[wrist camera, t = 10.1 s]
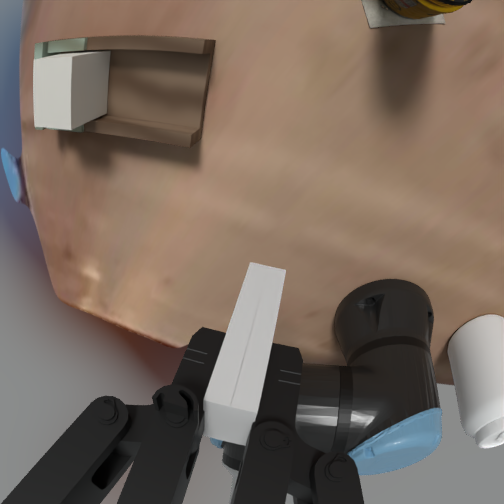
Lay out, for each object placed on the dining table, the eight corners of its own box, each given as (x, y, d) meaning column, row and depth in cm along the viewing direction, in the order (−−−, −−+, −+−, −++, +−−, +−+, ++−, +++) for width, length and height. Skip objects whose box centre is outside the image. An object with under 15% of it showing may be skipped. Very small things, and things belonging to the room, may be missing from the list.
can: (469, 307, 41) (502, 420, 25) (519, 316, 40) (554, 413, 24) (434, 356, 49) (448, 458, 33) (483, 360, 48) (503, 451, 32)
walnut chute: (200, 138, 35) (186, 151, 32) (56, 119, 36) (35, 129, 33) (215, 40, 28) (201, 39, 25) (58, 39, 29) (35, 43, 26)
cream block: (106, 113, 34) (71, 130, 28) (71, 110, 34) (34, 126, 28) (110, 50, 29) (72, 56, 23) (72, 51, 29) (33, 59, 24)
